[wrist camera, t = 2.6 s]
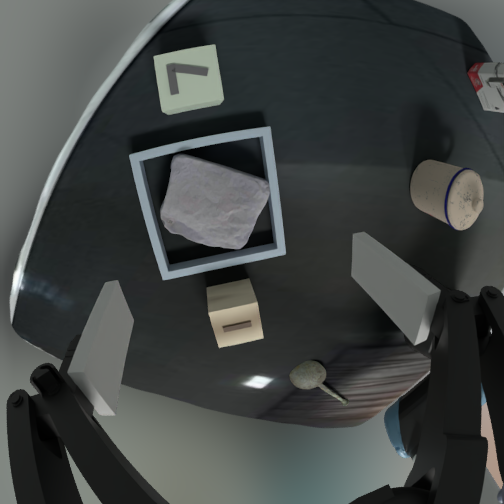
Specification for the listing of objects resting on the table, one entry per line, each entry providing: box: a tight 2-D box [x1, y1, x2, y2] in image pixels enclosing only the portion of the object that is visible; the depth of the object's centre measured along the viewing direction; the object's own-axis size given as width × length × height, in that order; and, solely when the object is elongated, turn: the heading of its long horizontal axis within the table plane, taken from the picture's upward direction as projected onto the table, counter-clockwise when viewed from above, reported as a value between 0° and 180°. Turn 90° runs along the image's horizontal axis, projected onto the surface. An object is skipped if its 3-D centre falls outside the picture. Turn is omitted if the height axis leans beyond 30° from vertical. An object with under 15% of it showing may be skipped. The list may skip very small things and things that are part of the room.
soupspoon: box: [289, 360, 349, 406], centre depth 53 cm, size 22×3×7 cm
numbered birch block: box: [206, 278, 263, 348], centre depth 38 cm, size 6×6×6 cm
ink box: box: [467, 63, 504, 113], centre depth 27 cm, size 9×5×12 cm, turn 44°
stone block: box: [160, 153, 270, 249], centre depth 33 cm, size 12×5×10 cm
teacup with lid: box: [410, 160, 483, 230], centre depth 33 cm, size 12×9×12 cm
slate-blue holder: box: [129, 127, 286, 280], centre depth 33 cm, size 16×16×2 cm
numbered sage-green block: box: [154, 45, 224, 115], centre depth 25 cm, size 6×6×6 cm
